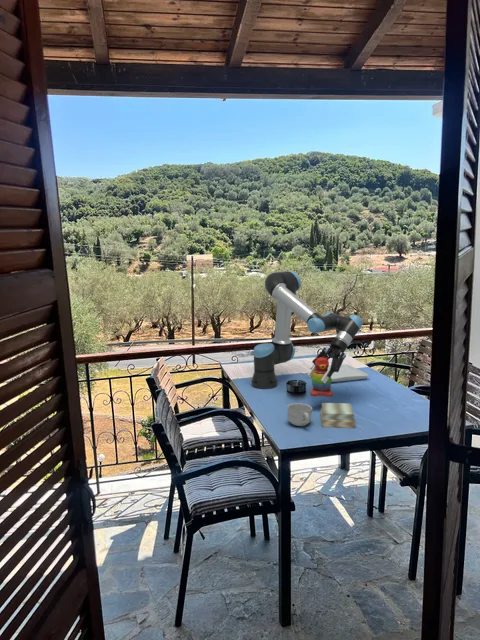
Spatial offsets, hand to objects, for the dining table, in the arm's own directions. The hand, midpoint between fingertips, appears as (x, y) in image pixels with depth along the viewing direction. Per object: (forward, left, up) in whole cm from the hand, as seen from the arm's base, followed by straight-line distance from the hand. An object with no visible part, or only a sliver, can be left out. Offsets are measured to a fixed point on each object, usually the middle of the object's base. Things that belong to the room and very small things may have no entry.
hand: (316, 379), depth 204 cm
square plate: (+15, +57, -16) cm, 61 cm away
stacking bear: (+3, +2, -8) cm, 8 cm away
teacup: (-7, -19, -15) cm, 26 cm away
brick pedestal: (+9, -13, -15) cm, 22 cm away
